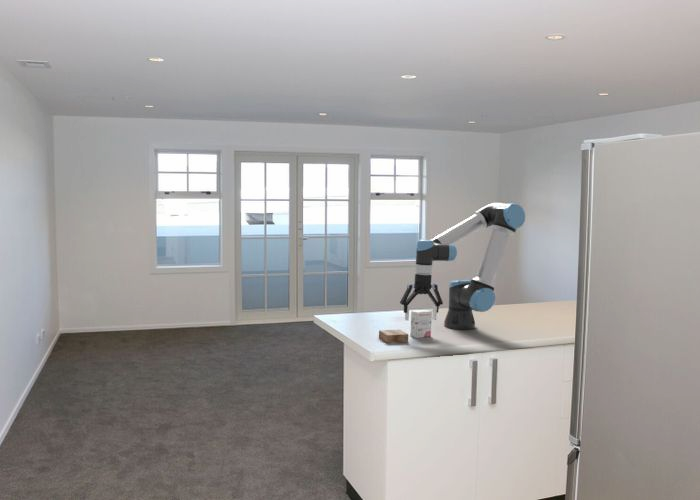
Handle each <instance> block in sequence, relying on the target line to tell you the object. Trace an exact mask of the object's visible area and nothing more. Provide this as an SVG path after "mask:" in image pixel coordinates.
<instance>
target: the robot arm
mask: <svg viewBox="0 0 700 500" xmlns="http://www.w3.org/2000/svg"><path fill="white" fill-rule="evenodd" d="M525 221H526V213H525V211H524V208H523V207H522V206H521V205H520V204H519V203H515V202H502V201H495V202H491V203H489V204H487V205H484V206H483V207H481V208H479V209H477V210H476V211H474V212H473V215H472V216H470V217H468V218H466V219H464V220H463V221H461V222H459V223H458V224H456V225H454V226H452V227H451V228H449V229H447V230H445V231H444V232H442V233H440V234H438V235H437V236H435V237H434V238H431V239H418V240H417V244H416V250H415V251H416V252H415V253H416V255H415V269H414V270H415V271H414V272H415V274H414V284H411V283H408V284H407V287H406V290H405V292H404V294H403V295H402V297H401V300H400V301H399V303H400V305H403V314H404V313H405V314H404V320H405V321H410V320H409V319H410V306H409V305H410V303H412V301H413V300H414V299H416V298H415V297H417V296H418V295H427V296H428V297H429V298H430V299H431V301H432V302H433V305H432V319H431V320H433V321H437V314H439V309H440V306H442V305H444V302H443V299H442V297H441V295H440V293H439V289H438V284H436V283H433V284H432V273H433V262H434V261H435V262H436V261H437V262H439V261H440V262H443V261H445V262H451V261H454V260H455V259H456V258H457V254H458V251H457V247H456V246H455V244H457V243H459V242H461V241H462V240H464V239H466V238H467V237H469V236H471V235H472V234H474V233H476V232H478V231H480V230H485V229H487V228H490V227H491V229H492V232H491V235H490V238H489V239H488V242H487V246H486V247H485V251H484V253H483V255H482V259H481V261H480V264H479V267H478V269H477V272H476V275H475V276H474V277H473V278H471V279H469V280H468V279H464V280H461V279H460V280H459V279H458V280H451V281H450V282H449V287H448V290H449V291H448V292H449V294H448V310H447V313H446V315H445V319H444V320H443V321H444V323H443V326H444V327H445V328H448V329H455V330H472V329H475V328H476V322H475V316H474V313H473V312H474V311H475V312H479V313H484V312H487V311H489V310H490V309H492V308H493V306H494V304H495V302H496V294H495V292H494V291H495V288H496V287H495V285H494V281H495V278H496V277H497V274H498V270H499V268H500V265H501V263H502V259H503V257H504V254H505V252H506V249H507V246H508V243H509V241H510V237H512V236H513V235H514V236H515V233H516V231H517V229H519V228H521V227H523V225H524V223H525ZM413 289H414V290H413ZM431 289H432V290H433V293H434V295H435V296H434V295H433V293H432V292H431ZM412 290H413V291H412ZM411 292H412V293H411Z"/></svg>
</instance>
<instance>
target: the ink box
mask: <svg viewBox="0 0 700 500" xmlns="http://www.w3.org/2000/svg"><path fill="white" fill-rule="evenodd" d="M432 315H433V311H431V310H427V309H421V310H412V311H411V314H410V337H413V338H415V339H419V338H421V339H422V338H427V337H429V338H430V337H432V335H431V334H432V320H433V319H432Z"/></svg>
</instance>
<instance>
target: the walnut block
mask: <svg viewBox="0 0 700 500" xmlns="http://www.w3.org/2000/svg"><path fill="white" fill-rule="evenodd" d="M379 338H380V339H379ZM378 339H379V340H381V341H382V340H383V341H382V342H383V343H385V344H387V343H388V344H404V343H405V344H407V343H409V334H408V333H407V332H405V331H403V330H401V329H381V330H380V329H379V332H378Z"/></svg>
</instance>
